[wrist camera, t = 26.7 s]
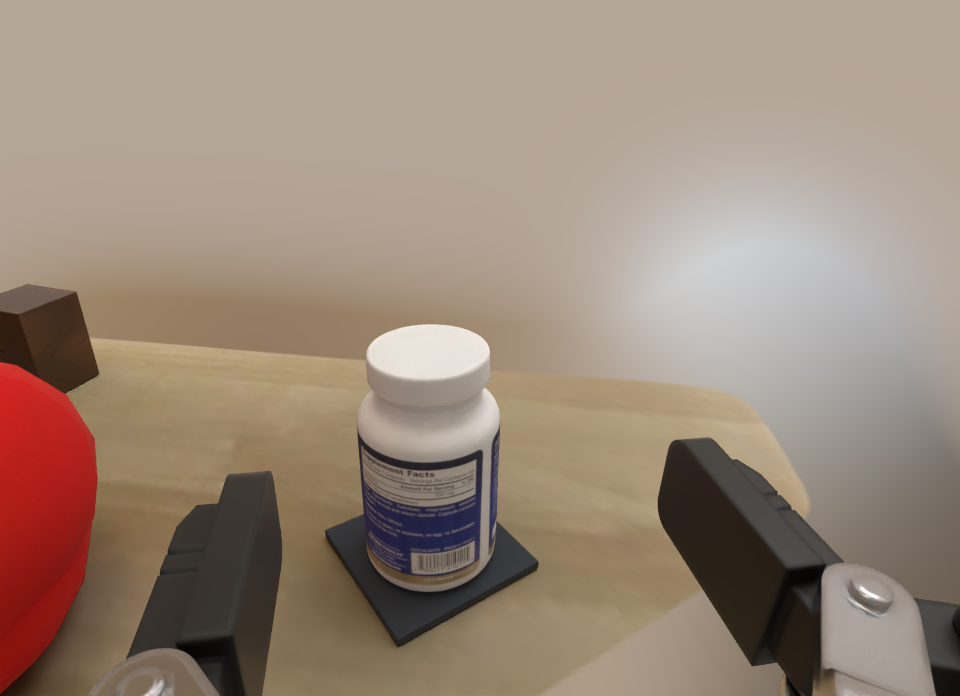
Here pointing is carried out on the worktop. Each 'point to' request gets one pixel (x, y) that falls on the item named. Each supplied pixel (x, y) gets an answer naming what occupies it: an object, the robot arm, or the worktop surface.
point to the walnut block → (46, 335)
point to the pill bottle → (429, 456)
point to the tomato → (40, 514)
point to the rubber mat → (424, 610)
